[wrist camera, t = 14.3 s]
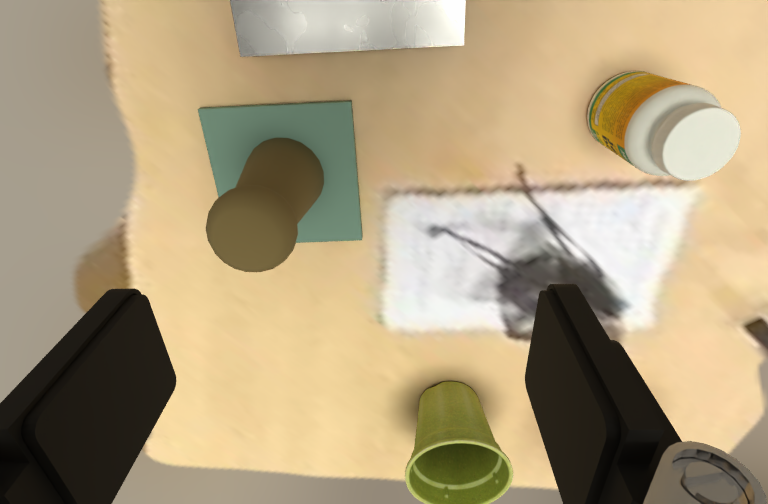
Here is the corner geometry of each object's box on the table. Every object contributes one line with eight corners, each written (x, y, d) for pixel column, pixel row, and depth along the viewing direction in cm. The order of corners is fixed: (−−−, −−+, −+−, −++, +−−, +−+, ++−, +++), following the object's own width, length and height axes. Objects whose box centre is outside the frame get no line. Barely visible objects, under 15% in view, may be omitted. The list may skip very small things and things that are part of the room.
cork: (244, 206, 36) (191, 280, 26) (246, 130, 33) (187, 182, 24) (320, 218, 36) (294, 295, 27) (328, 144, 34) (303, 202, 24)
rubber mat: (200, 107, 33) (197, 109, 32) (351, 100, 33) (350, 102, 32) (232, 241, 38) (230, 245, 38) (362, 236, 38) (361, 240, 37)
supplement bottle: (677, 85, 32) (780, 115, 24) (633, 155, 34) (712, 205, 26) (610, 57, 31) (692, 78, 23) (570, 131, 34) (630, 175, 25)
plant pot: (395, 426, 49) (396, 504, 41) (412, 361, 44) (417, 435, 37) (479, 437, 50) (495, 516, 42) (504, 374, 45) (528, 449, 38)
